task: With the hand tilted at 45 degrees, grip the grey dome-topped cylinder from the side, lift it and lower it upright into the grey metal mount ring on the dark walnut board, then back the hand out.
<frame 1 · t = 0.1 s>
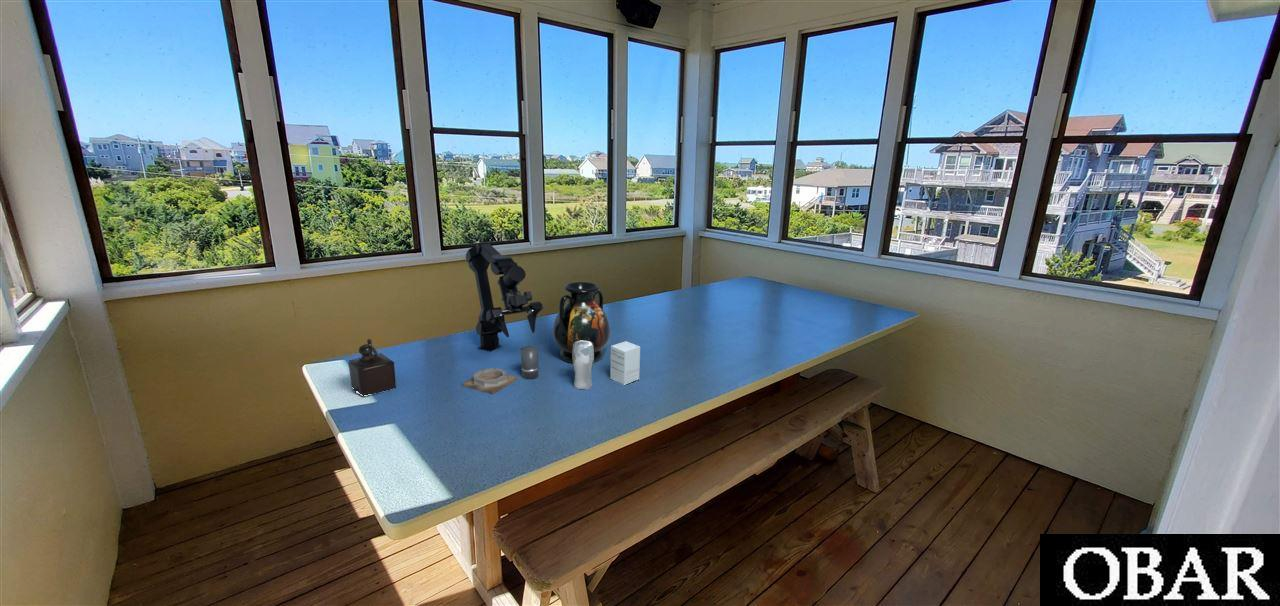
hand: (521, 334, 174), 15 cm above the table, tool tilted 35°, fingers open, 9 cm apart
walnut mount board: (490, 382, 171), on the table
amphora vase: (581, 357, 196), on the table
beer glass: (583, 386, 171), on the table
brown coffee grinder: (376, 391, 162), on the table
grey dome-topped cylinder: (530, 376, 177), on the table
supplement box: (624, 380, 176), on the table
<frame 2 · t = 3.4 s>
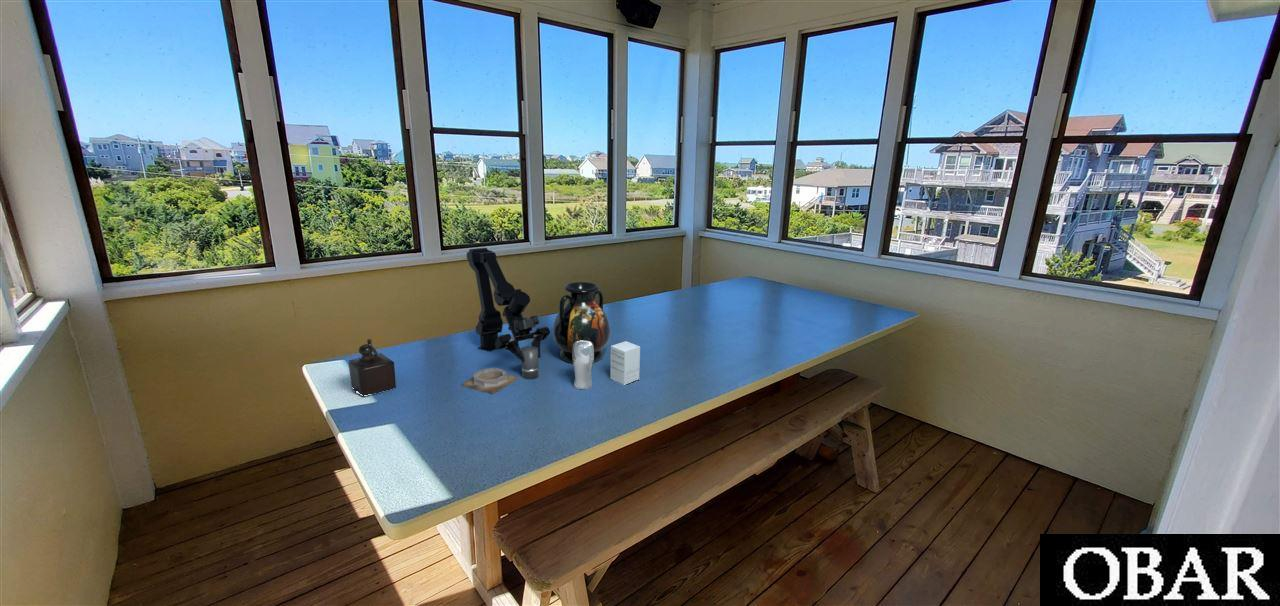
hand: (531, 359, 174), 7 cm above the table, tool tilted 45°, fingers closed on grey dome-topped cylinder, 6 cm apart
grey dome-topped cylinder: (530, 375, 177), on the table, touching gripper
everything else where it was.
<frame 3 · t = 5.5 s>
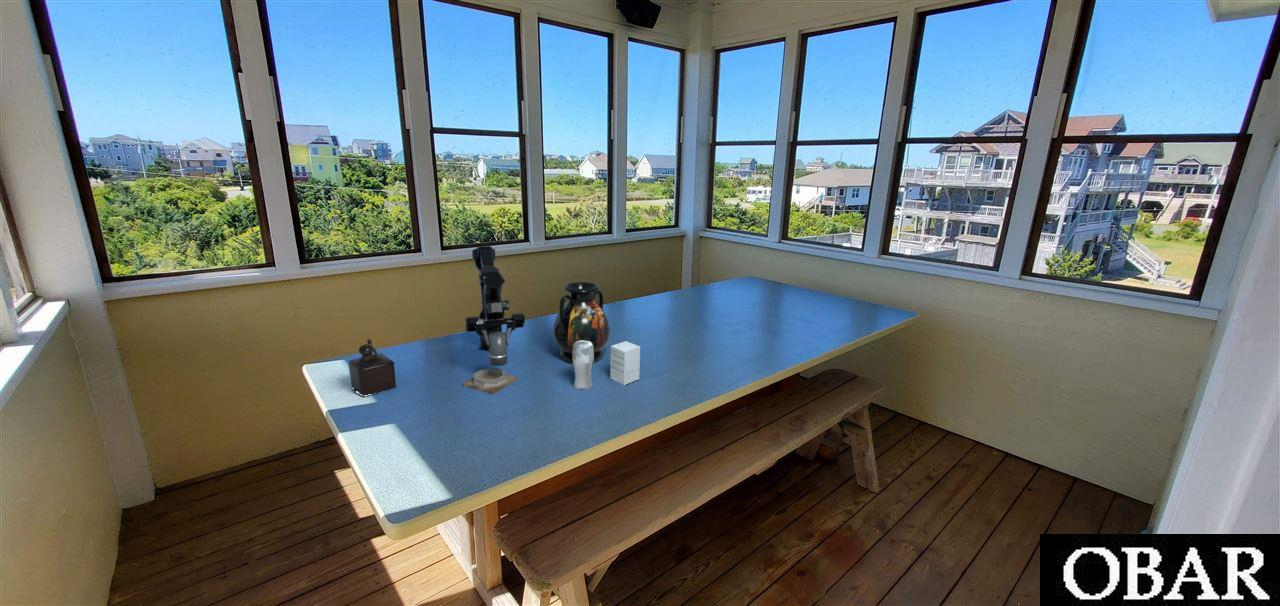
hand: (498, 345, 167), 13 cm above the table, tool tilted 45°, fingers closed on grey dome-topped cylinder, 6 cm apart
grey dome-topped cylinder: (498, 362, 170), point 7 cm above the table, touching gripper
everything else where it was.
when the fingers open (9 cm above the table, at t = 7.9 s): grey dome-topped cylinder drops 1 cm, resting on walnut mount board.
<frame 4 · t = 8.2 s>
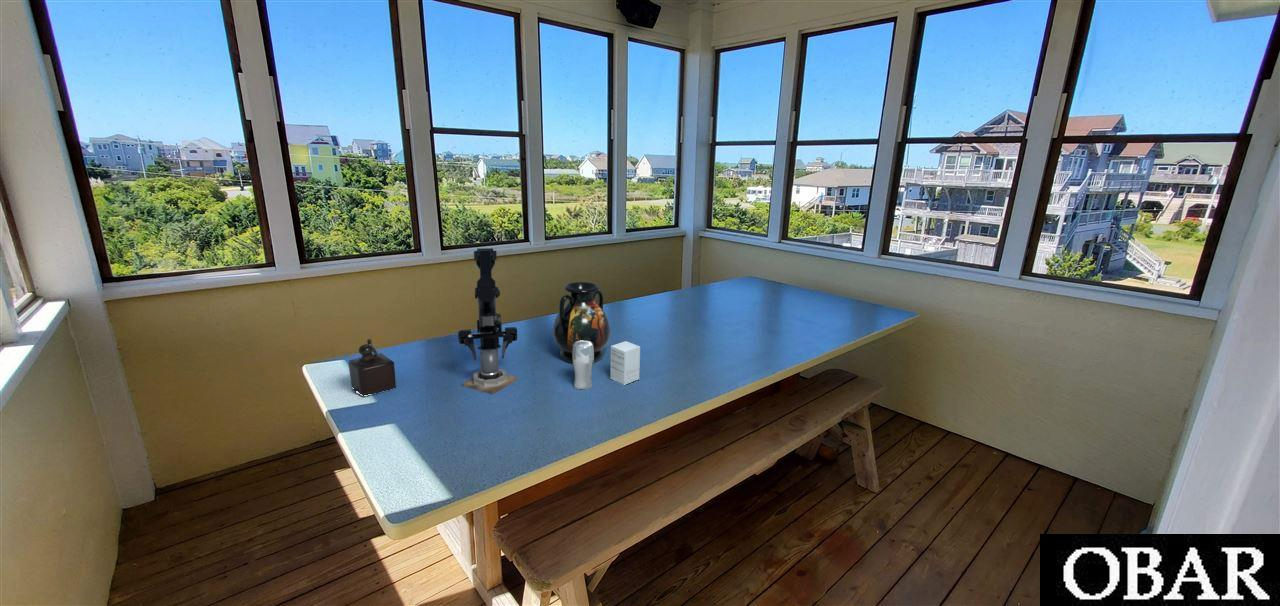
hand: (489, 359, 167), 9 cm above the table, tool tilted 45°, fingers open, 8 cm apart
grey dome-topped cylinder: (490, 379, 170), point 1 cm above the table, touching walnut mount board
everything else where it was.
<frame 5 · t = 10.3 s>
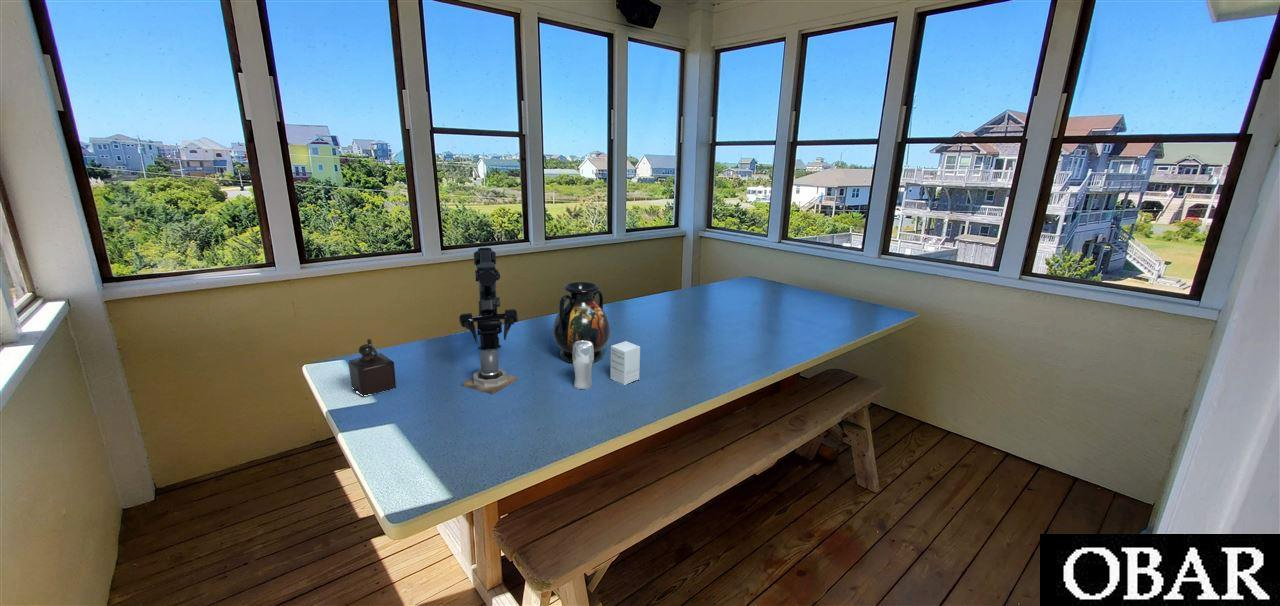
hand: (490, 341, 171), 13 cm above the table, tool tilted 40°, fingers open, 9 cm apart
nothing on the table moved.
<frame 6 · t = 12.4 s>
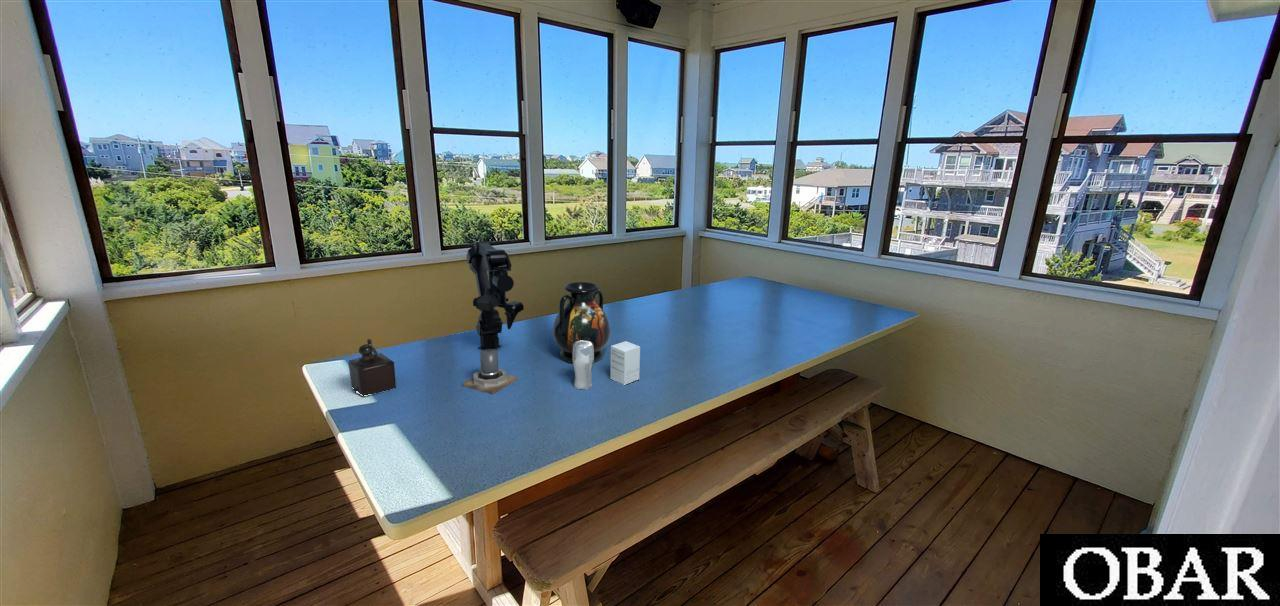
hand: (498, 327, 186), 13 cm above the table, tool pointing down, fingers open, 9 cm apart
nothing on the table moved.
at the end: grey dome-topped cylinder 0.1 cm off-centre on the walnut mount board, point 1.0 cm above the walnut mount board's base; grey dome-topped cylinder tilted 0°; the gripper is holding nothing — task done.
